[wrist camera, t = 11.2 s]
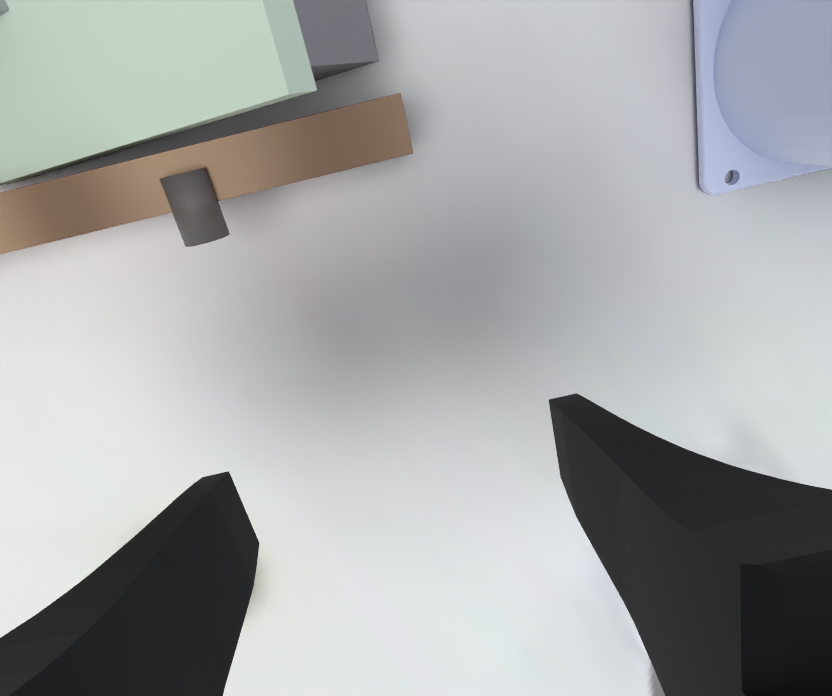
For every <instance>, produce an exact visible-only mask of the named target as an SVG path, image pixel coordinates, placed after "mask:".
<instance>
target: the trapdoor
mask: <svg viewBox="0 0 832 696" xmlns="http://www.w3.org/2000/svg"><path fill="white" fill-rule="evenodd" d="M5 1H6V3H7V5H8V7H9V10H8V11H7V12H5V13H4V14H2V15H1V16H0V185H2V184H7V183H12V182H16V181H20V180H23V179H26V178H30V177H33V176H36V175H39V174H43V173H46V172H49V171H53V170H56V169H59V168H63V167H66V166H69V165H73V164H76V163H79V162H82V161H86V160H89V159H92V158H96V157H99V156H102V155H106V154H109V153H112V152H115V151H119V150H122V149H125V148H129V147H132V146H135V145H139V144H142V143H145V142H148V141H152V140H155V139H158V138H162V137H165V136H168V135H172V134H175V133H178V132H182V131H185V130H188V129H191V128H195V127H198V126H201V125H205V124H208V123H211V122H215V121H218V120H221V119H224V118H228V117H231V116H234V115H238V114H241V113H244V112H248V111H251V110H254V109H257V108H261V107H264V106H267V105H271V104H274V103H277V102H281V101H284V100H287V99H291V98H294V97H297V96H300V95H304V94H307V93H310V92H314V91H317V88H316V84H315V81H317V80H320V79H323V78H326V77H330V76H333V75H336V74H339V73H342V72H345V71H349V70H352V69H355V68H358V67H361V66H364V65H368V64H371V63H374V62H377V61H379V58H378V54H377V49H376V45H375V41H374V36H373V32H372V27H371V23H370V19H369V14H368V10H367V5H366V1H365V0H5Z"/></svg>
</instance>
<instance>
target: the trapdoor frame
mask: <svg viewBox="0 0 832 696" xmlns="http://www.w3.org/2000/svg"><path fill="white" fill-rule="evenodd" d="M409 154H413V148H412V144H411V139H410V135H409V130H408V125H407V121H406V116H405V112H404V107H403V102H402V98H401V93H399V94H395V95H391V96H387V97H383V98H379V99H375V100H371V101H367V102H363V103H359V104H355V105H351V106H347V107H343V108H339V109H335V110H331V111H327V112H323V113H319V114H315V115H311V116H307V117H303V118H298V119H294V120H290V121H286V122H282V123H278V124H274V125H270V126H266V127H262V128H258V129H254V130H250V131H246V132H242V133H238V134H234V135H230V136H226V137H222V138H218V139H214V140H210V141H206V142H202V143H198V144H194V145H190V146H186V147H182V148H178V149H174V150H170V151H166V152H162V153H158V154H154V155H150V156H146V157H142V158H138V159H134V160H130V161H126V162H122V163H118V164H114V165H110V166H106V167H102V168H98V169H94V170H90V171H86V172H82V173H78V174H74V175H70V176H66V177H62V178H58V179H54V180H50V181H46V182H42V183H38V184H34V185H30V186H25V187H21V188H17V189H13V190H9V191H5V192H1V193H0V254H4V253H8V252H12V251H16V250H20V249H24V248H28V247H32V246H36V245H41V244H45V243H49V242H53V241H57V240H61V239H65V238H69V237H73V236H77V235H81V234H86V233H90V232H94V231H98V230H102V229H106V228H110V227H114V226H118V225H122V224H126V223H131V222H135V221H139V220H143V219H147V218H151V217H155V216H159V215H163V214H167V213H171V212H172V213H173V215H174V218H175V220H176V223H177V226H178V228H179V231H180V233H181V236H182V238H183V241H184V244H185V246H186V247H189V246H195V245H200V244H204V243H208V242H211V241H214V240H217V239H220V238H223V237H225V236H227V235H229V231H228V228H227V225H226V222H225V220H224V217H223V214H222V211H221V208H220V206H219V203H218V201H221V200H225V199H229V198H233V197H237V196H241V195H245V194H249V193H253V192H257V191H261V190H266V189H270V188H274V187H278V186H282V185H286V184H290V183H294V182H298V181H302V180H306V179H310V178H315V177H319V176H323V175H327V174H331V173H335V172H339V171H343V170H347V169H351V168H355V167H360V166H364V165H368V164H372V163H376V162H380V161H384V160H388V159H392V158H396V157H400V156H405V155H409Z"/></svg>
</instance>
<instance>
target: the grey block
mask: <svg viewBox="0 0 832 696" xmlns="http://www.w3.org/2000/svg"><path fill="white" fill-rule="evenodd" d="M8 10H9V7H8V5H7V3H6V1H5V0H0V16H1V15H2V14H4V13H5V12H7V11H8Z"/></svg>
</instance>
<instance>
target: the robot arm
mask: <svg viewBox="0 0 832 696" xmlns="http://www.w3.org/2000/svg"><path fill="white" fill-rule="evenodd" d="M693 8H694V38H695V67H696V97H697V127H698V156H699V183H700V188H701V189H702V190H703V192H705V193H708V194H711V195H719V194H723V193H727V192H731V191H735V190H740V189H744V188H748V187H752V186H757V185H761V184H765V183H769V182H774V181H778V180H782V179H786V178H790V177H795V176H799V175H803V174H807V173H812V172H816V171H820V170H824V169H829V168H832V0H693ZM731 170H732V171H733V174H734V175H733V179H732V180H731V181H730V182H729V183H726V181H725V177H726V174H727V173H728V172H729V171H731ZM549 405H550V411H551V418H552V424H553V430H554V437H555V443H556V450H557V456H558V463H559V469H560V476H561V479H562V482H563V484H564V487H565V489H566V492H567V495H568V497H569V500H570V502H571V505H572V507H573V509H574V512H575V514H576V517H577V518H578V520H579V522H580V524H581V526H582V528H583V530H584V531H585V533H586V535H587V537H588V539H589V540H590V542H591V544H592V546H593V548H594V549H595V551H596V553H597V555H598V557H599V558H600V560H601V562H602V564H603V566H604V567H605V569H606V571H607V573H608V574H609V576H610V578H611V580H612V582H613V583H614V585H615V587H616V589H617V591H618V592H619V594H620V596H621V598H622V600H623V601H624V603H625V605H626V607H627V609H628V611H629V613H630V615H631V617H632V619H633V621H634V623H635V626H636V628H637V630H638V632H639V635H640V637H641V639H642V642H643V644H644V646H645V649H646V651H647V653H648V656H649V658H650V660H651V662H652V665H653V667H654V669H655V672H656V674H657V677H658V679H659V681H660V684H661V686H662V688H663V691H664V693H665V696H832V490H830V489H825V488H820V487H814V486H809V485H805V484H800V483H795V482H791V481H786V480H782V479H778V478H775V477H771V476H767V475H763V474H759V473H756V472H752V471H748V470H745V469H741V468H738V467H735V466H731V465H728V464H725V463H723V462H720V461H717V460H714V459H711V458H708V457H705V456H703V455H700V454H697V453H694V452H692V451H689V450H687V449H684V448H682V447H679V446H677V445H675V444H673V443H670V442H668V441H666V440H664V439H661V438H659V437H657V436H655V435H653V434H651V433H649V432H647V431H645V430H643V429H641V428H639V427H637V426H635V425H633V424H631V423H629V422H627V421H625V420H623V419H621V418H620V417H618V416H616V415H614V414H612V413H611V412H609V411H607V410H605V409H604V408H602V407H600V406H598V405H597V404H595V403H593V402H591V401H590V400H588V399H586V398H584V397H582V396H581V395H579V394H577V393H576V394H572V395H568V396H563V397H559V398H554V399H550V400H549ZM258 549H259V541H258V539H257V537H256V534H255V532H254V530H253V527H252V525H251V522H250V520H249V518H248V515H247V513H246V511H245V508H244V506H243V504H242V501H241V499H240V497H239V494H238V492H237V489H236V487H235V485H234V482H233V480H232V478H231V475H230V473H229V472H224V473H220V474H215V475H211V476H206V477H202V478H201V479H200V480H198V481H197V482H195V483H194V484H193V485H192V486H190V487H189V488H188V489H187V490H186V491H185V492H183V493H182V494H181V495H180V496H179V497H178V498H177V499H175V500H174V501H173V502H172V503H171V504H170V505H169V506H168V507H167V508H166V509H164V510H163V511H162V512H161V513H160V514H159V515H158V516H157V517H156V518H154V519H153V520H152V521H151V522H150V523H149V524H148V525H147V526H146V527H145V528H143V529H142V530H141V531H140V532H139V533H138V534H137V535H136V536H135V537H133V538H132V539H131V540H130V541H129V542H128V543H126V544H125V545H124V546H123V547H122V548H121V549H119V550H118V551H117V552H116V553H115V554H114V555H112V556H111V557H110V558H109V559H108V560H106V561H105V562H104V563H103V564H102V565H101V566H99V567H98V568H97V569H96V570H95V571H94V572H92V573H91V574H90V575H89V576H87V577H86V578H85V579H84V580H82V581H81V582H80V583H78V584H77V585H76V586H74V587H73V588H72V589H71V590H69V591H68V592H67V593H65V594H64V595H62V596H61V597H60V598H58V599H57V600H56V601H54V602H53V603H52V604H50V605H49V606H47V607H46V608H45V609H43V610H42V611H40V612H39V613H38V614H36V615H35V616H33V617H32V618H30V619H29V620H27V621H26V622H24V623H23V624H21V625H20V626H18V627H16V628H15V629H13V630H12V631H10V632H9V633H7V634H6V635H4V636H3V637H1V638H0V696H223V692H224V688H225V684H226V681H227V677H228V674H229V670H230V667H231V664H232V660H233V657H234V653H235V650H236V646H237V643H238V639H239V636H240V632H241V629H242V626H243V622H244V619H245V615H246V611H247V608H248V604H249V601H250V597H251V593H252V589H253V586H254V579H255V573H256V566H257V558H258Z"/></svg>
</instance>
